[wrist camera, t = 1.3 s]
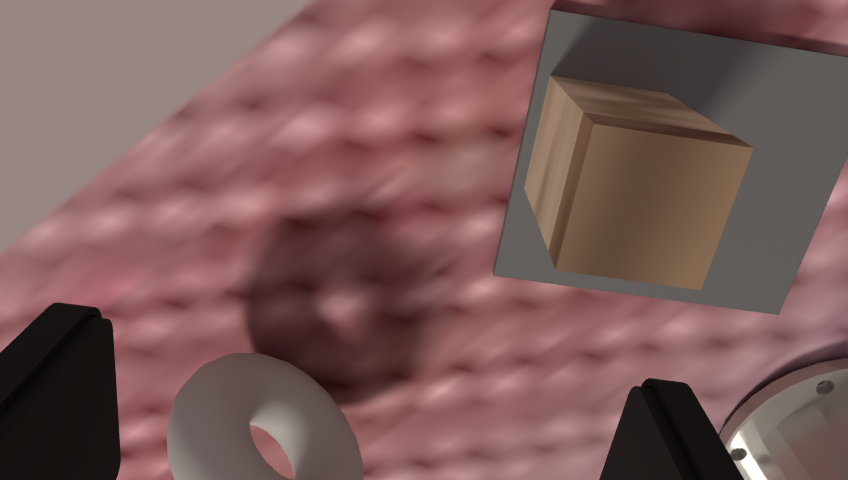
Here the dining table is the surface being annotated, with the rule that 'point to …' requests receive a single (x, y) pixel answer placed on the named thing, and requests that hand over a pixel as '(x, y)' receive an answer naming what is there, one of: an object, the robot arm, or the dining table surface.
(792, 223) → the mat
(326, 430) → the donut
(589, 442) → the dining table surface
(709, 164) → the tall block
